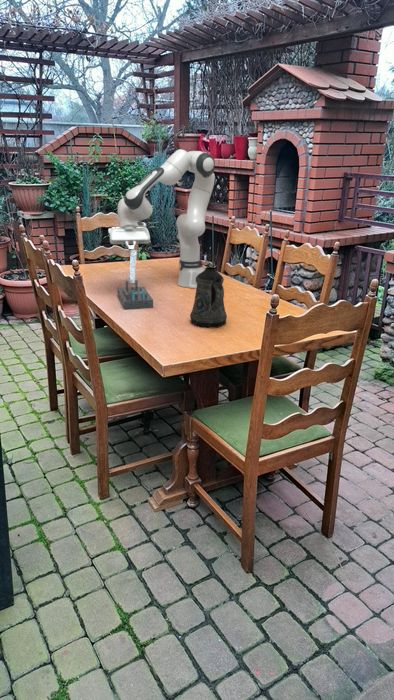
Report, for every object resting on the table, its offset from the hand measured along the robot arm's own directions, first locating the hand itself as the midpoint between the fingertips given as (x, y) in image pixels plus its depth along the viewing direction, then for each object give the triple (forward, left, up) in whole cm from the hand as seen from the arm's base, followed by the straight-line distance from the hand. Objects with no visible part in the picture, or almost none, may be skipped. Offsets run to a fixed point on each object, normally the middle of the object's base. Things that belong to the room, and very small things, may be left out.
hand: (131, 249), depth 258 cm
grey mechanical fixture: (0, +5, -25) cm, 26 cm away
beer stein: (-28, +46, -25) cm, 60 cm away
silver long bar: (0, +1, -9) cm, 9 cm away
